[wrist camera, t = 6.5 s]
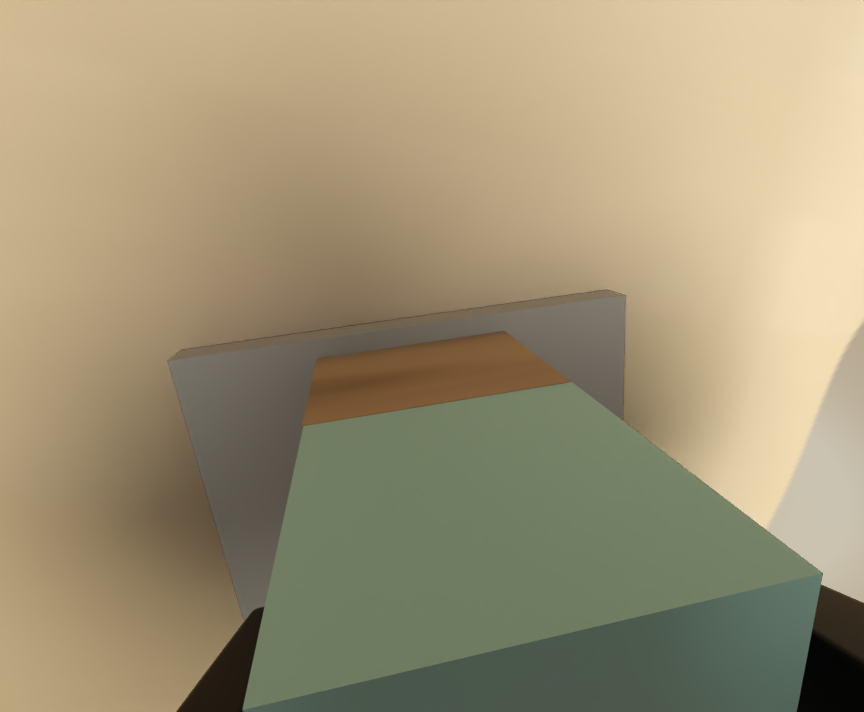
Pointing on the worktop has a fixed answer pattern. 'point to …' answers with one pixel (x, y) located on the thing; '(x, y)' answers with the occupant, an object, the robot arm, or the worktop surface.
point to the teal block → (521, 571)
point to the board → (289, 389)
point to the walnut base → (423, 376)
